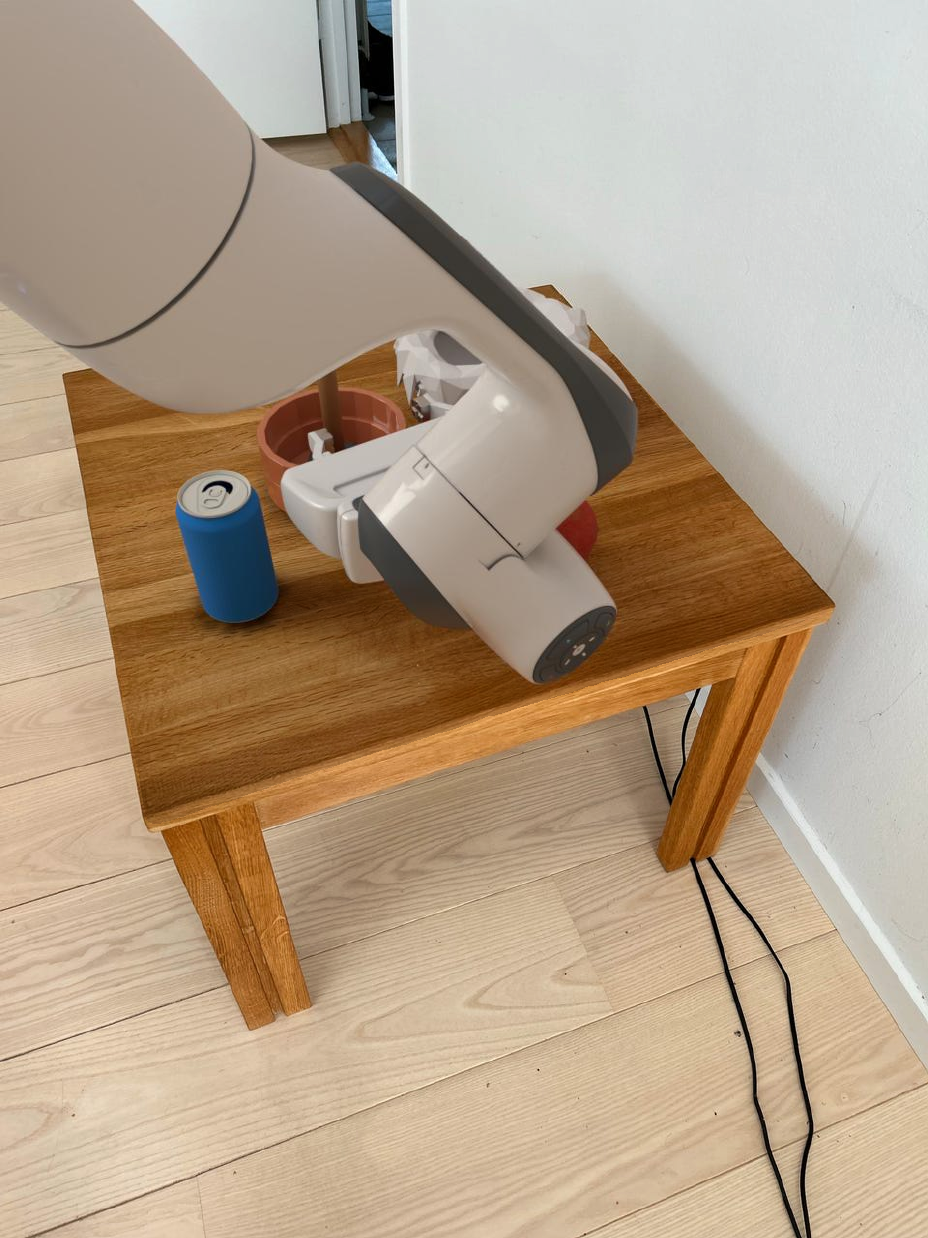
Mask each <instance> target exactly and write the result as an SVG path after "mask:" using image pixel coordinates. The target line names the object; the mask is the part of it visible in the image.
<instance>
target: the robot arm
mask: <svg viewBox="0 0 928 1238" xmlns="http://www.w3.org/2000/svg"><path fill="white" fill-rule="evenodd" d="M262 139H263V138H261V137H260V136H258V135H257V133H256V132H255V131H254V130H253V129H252V128H251V127H250V125H249V124H248V123H247V122H246V120H244V119H243V117H242V116H241V115H240V113H239V112H238V111H237V109H236V108H235V107H234V106H233V105H232V103H231V102H230V101H229V100H228V99H227V98H226V97H225V96H224V95H223V93H222V92H221V91H220V90H219V88H218V87H217V86H216V85H215V84H214V83H213V81H212V80H211V79H210V78H209V77H208V76H207V75H206V74H205V72H203V70H201V68H200V67H199V66H198V65H197V64H196V63H195V62H194V61H193V60H192V59H191V58H190V56H188V54H187V53H186V52H185V51H184V50H183V49H182V48H181V47H180V46H179V44H177V43H176V41H175V40H174V39H173V38H172V37H171V36H170V35H169V34H168V33H166V32H165V30H164V29H162V27H161V26H160V25H159V24H158V23H157V22H156V21H154V19H153V18H152V17H151V16H150V15H149V14H148V13H146V11H145V10H144V9H142V8H141V7H140V6H139V5H138V4H137V3H136V2H135V1H134V0H0V303H1V304H3V305H4V306H5V307H7V308H8V309H9V310H11V311H12V312H13V313H15V314H16V315H17V316H19V317H20V318H21V319H22V320H24V321H25V322H27V323H28V324H29V325H30V326H31V327H33V328H35V329H36V330H37V331H38V332H40V333H41V334H42V335H44V336H45V337H47V338H48V339H50V340H51V342H54V343H55V344H56V345H57V346H59V348H62V349H63V350H64V351H65V352H67V353H68V354H70V355H71V356H73V357H74V358H75V359H76V360H79V361H80V362H81V363H83V364H84V365H86V366H87V367H88V368H90V369H92V370H93V371H94V372H96V373H98V374H99V375H101V376H103V377H104V378H105V379H107V380H109V381H111V382H112V383H114V384H115V385H117V386H119V387H120V388H122V389H124V390H126V391H128V392H129V393H131V394H133V395H135V396H137V397H139V398H141V399H143V400H145V401H147V402H149V403H152V404H154V405H157V406H159V407H162V408H164V409H168V410H172V411H175V412H179V413H187V414H196V415H215V414H217V415H218V414H227V413H236V412H237V413H238V412H241V411H246V410H251V409H252V410H253V409H257V408H260V407H263V406H267V405H271V404H273V403H277V402H278V401H279V402H280V401H282V400H285V399H287V398H289V397H290V396H292V395H295V394H297V393H299V392H300V391H302V390H304V389H306V388H307V387H309V386H311V385H312V384H314V383H315V382H316V383H317V380H319V379H320V378H322V377H324V376H325V375H327V374H329V373H330V372H332V371H334V370H335V369H336V370H337V369H338V368H340V367H342V366H343V365H346V364H347V363H349V362H351V361H352V360H354V359H356V358H358V357H360V356H362V355H364V354H366V353H368V352H370V351H372V350H374V349H376V348H379V347H381V346H384V345H385V344H388V343H390V342H392V341H396V340H397V339H398V338H401V337H403V336H406V335H409V334H413V333H416V332H421V331H427V330H438V331H443V332H445V333H447V334H448V335H449V336H451V337H452V338H453V339H454V340H456V341H457V342H458V343H459V344H461V345H462V346H463V347H464V348H466V349H467V350H468V351H469V352H471V353H472V354H473V355H474V356H476V357H477V358H478V359H479V360H481V361H482V362H483V363H484V364H486V365H485V367H484V369H483V371H482V373H481V375H480V376H479V378H478V380H477V381H476V382H475V384H474V385H473V386H472V387H471V388H470V390H469V391H468V392H467V393H466V394H465V395H464V396H463V397H462V398H461V399H460V400H459V401H458V402H457V403H456V404H455V405H449V404H445V403H441V402H436V401H435V400H434V399H433V398H432V397H431V396H429V395H428V394H425V395H422V396H420V397H417V396H416V397H414V398H412V400H411V403H410V405H411V406H412V407H411V413H412V416H413V418H414V419H415V420H417V421H418V423H419V424H415V425H413V426H410V427H408V428H407V427H406V428H407V429H404V430H401V431H398V432H395V433H392V434H389V435H386V436H383V437H380V438H377V439H374V440H372V441H369V442H366V443H363V444H360V445H357V446H354V447H351V448H348V449H345V450H342V451H339V452H337V453H335V449H334V447H333V444H334V441H333V436H332V435H331V434H330V433H329V432H327V429H326V428H323V429H320V430H317V431H313V432H310V433H308V440H309V446H310V449H311V451H312V452H313V456H312V457H313V461H310V462H307V463H305V464H302V465H299V466H295V467H292V468H290V469H288V470H286V471H285V473H284V475H283V477H282V480H281V491H282V497H283V502H284V506H285V509H286V512H287V513H286V512H285V513H286V514H287V516H288V517H289V519H290V521H292V523H293V525H294V526H295V527H296V528H297V530H298V531H300V533H301V535H303V536H304V537H305V539H307V540H308V542H310V543H311V544H312V545H313V546H314V547H315V548H316V549H317V550H318V551H319V552H321V553H322V554H324V555H326V556H327V557H330V558H333V559H335V560H337V559H338V560H341V562H342V564H343V568H344V571H345V574H346V576H347V577H348V579H349V580H350V581H351V582H353V583H355V584H359V585H360V584H361V585H362V584H370V583H371V584H372V583H377V582H385V584H387V586H388V587H389V589H390V590H391V591H392V593H393V595H394V596H396V598H397V599H398V601H400V603H401V605H403V606H404V607H405V608H406V609H407V611H408V612H409V613H411V614H412V615H413V616H414V617H416V619H418V620H420V621H421V622H422V623H424V624H426V625H429V626H432V627H437V628H443V629H450V630H454V631H455V630H457V631H472V630H473V631H474V633H476V635H477V636H478V637H479V638H480V639H481V640H482V641H483V642H484V643H485V644H486V645H487V646H488V647H489V648H490V649H491V650H492V651H493V652H494V653H495V654H496V655H497V656H499V658H500V659H502V660H503V661H504V662H505V663H506V664H507V665H508V666H510V668H512V669H513V670H514V671H515V672H517V674H519V675H520V676H521V677H523V678H524V679H525V680H527V681H528V682H530V683H532V684H535V685H545V684H550V683H552V682H556V681H558V680H561V679H562V678H563V677H565V676H567V675H570V674H571V673H573V672H574V671H575V670H576V669H577V668H579V667H580V666H581V665H582V664H584V662H586V661H587V660H588V659H589V658H590V657H591V656H592V655H594V653H595V652H596V651H597V650H599V648H600V647H601V646H602V645H603V644H604V643H605V641H606V640H607V637H608V636H609V635H610V634H611V631H612V629H613V628H614V625H615V622H616V619H617V615H618V614H617V613H618V608H617V605H616V603H615V601H614V599H613V597H612V596H611V595H610V593H609V592H608V590H607V588H606V587H605V586H604V584H603V583H602V581H601V580H600V578H599V577H598V576H597V574H596V573H595V572H594V570H592V568H591V566H589V564H588V563H587V562H586V560H585V561H584V559H583V558H582V557H581V556H580V555H579V553H578V552H577V551H576V550H575V549H574V548H573V547H572V546H571V544H570V543H569V542H568V541H567V540H566V539H565V538H564V537H563V536H562V535H561V534H560V533H559V532H558V531H557V530H556V528H557V527H558V526H559V525H560V524H561V523H562V522H563V521H564V520H565V519H566V518H567V517H568V516H569V515H570V514H571V513H572V512H573V511H574V510H575V509H577V508H578V507H579V506H580V505H581V504H582V503H583V502H584V501H585V500H586V501H587V499H589V497H593V496H594V495H596V494H597V493H599V491H601V490H602V489H603V488H604V487H605V486H607V484H609V483H610V482H611V481H612V480H614V479H615V478H616V477H618V476H619V475H620V474H622V473H623V472H624V471H625V470H626V469H627V468H628V467H630V466H631V465H632V464H633V461H634V455H635V451H636V450H635V449H636V444H637V438H638V424H639V410H638V407H637V405H636V404H635V403H634V400H633V398H632V396H631V394H630V391H629V390H628V388H627V386H626V385H625V384H624V381H622V379H621V378H620V377H619V375H617V373H616V372H615V371H614V370H613V369H612V367H610V366H609V365H608V364H607V362H605V361H604V360H603V359H602V358H601V357H600V356H599V355H597V354H596V353H594V352H593V351H591V350H590V348H589V349H587V348H586V347H584V346H583V345H581V344H579V343H578V342H576V341H574V340H572V339H571V338H569V337H567V336H565V335H564V334H563V333H562V332H561V331H560V330H559V329H558V328H556V326H555V325H554V324H553V323H552V322H551V321H550V320H549V319H548V318H547V317H546V316H545V315H544V314H543V313H542V312H541V311H540V310H539V309H538V308H537V307H536V306H535V305H534V304H533V303H532V302H531V301H530V300H528V299H527V297H526V296H524V295H523V293H521V292H520V291H519V290H518V289H517V288H516V287H517V286H516V285H514V284H513V283H512V281H510V280H509V279H508V278H507V277H506V276H505V275H504V274H503V273H502V272H501V271H500V270H499V269H498V268H497V267H496V266H495V265H494V264H493V263H492V262H491V261H490V260H489V259H488V258H487V257H485V255H484V254H483V253H481V251H479V249H478V248H476V246H474V244H472V243H471V242H470V241H469V240H468V238H465V237H464V236H463V235H461V234H459V232H458V231H456V230H455V229H454V227H452V226H451V225H450V224H449V223H447V221H445V219H443V218H442V217H441V216H440V215H439V214H438V213H437V212H435V211H434V210H433V209H432V208H431V207H430V206H428V204H426V203H425V202H423V200H421V198H419V197H418V196H416V195H415V194H414V193H413V192H411V191H410V190H409V189H408V188H406V187H405V186H404V185H402V184H401V183H399V182H398V181H397V180H395V179H393V178H392V177H390V176H389V175H388V174H386V173H384V172H382V171H380V170H378V169H376V168H375V167H372V166H370V165H367V164H365V163H364V162H361V161H353V162H349V163H345V164H340V165H337V166H333V167H330V168H329V170H327V169H321V168H316V167H313V166H309V165H305V164H302V163H299V162H297V161H295V160H293V159H291V158H288V157H286V156H285V155H283V154H281V153H279V152H278V151H276V150H275V149H274V148H272V147H271V146H270V145H269V144H268V143H266V142H265V141H264V140H262Z"/></svg>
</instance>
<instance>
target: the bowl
mask: <svg viewBox="0 0 928 1238" xmlns="http://www.w3.org/2000/svg"><path fill="white" fill-rule="evenodd" d="M515 287H516V288H517V289H518V290H519V291H520V292H521V293H523V295H524V296H526V297H527V299H528V300H530V301H531V302H532V303H533V304H534V305H535V306H536V307H537V308H538V309H539V310H540V311H541V312H542V313H543V314H544V315H545V316H546V317H547V318H548V319H549V320H550V321H551V322H552V323H553V324H554V325H555V326H556V328H558V329H559V330H560V331H561V332H562V333H563V334H564V335H565V336H567V337H569V338H571V339H572V340H574V341H576V342H578V343H579V344H581V345H583V346H584V347H586V348H587V349H589V350H590V346H591V345H590V341H591V337H592V336H591V332H590V330H589V327H588V322H587V316H586V315H587V314H586V311H585V310H584V309H583V308H581V307H570V305H569V306H568V305H566V304H565V303H563V302H561V301H560V300H557V299H555V298H552V297H550V298H549V297H546V296H545V295H544V294H542V293H539V292H537V291H535V290H533V289H530V288H525V287H519V286H515ZM393 349H394V353H395V355H396V375H397V376H396V377H397V378H396V380H397V382H396V383H397V388H399V387H400V386H401V385H402V384H403V386H404V390H405V393H406V398H407V403H408V407H409V408H410V406H411V400H412V399H413V396H414V394H415V392H416V393H417V394H416V398H417V397H420V396H422V395H425V394H428V395H429V396H431V397H432V398H433V399H434V400H435V401H436V402H441V403H445V404H449V405H455V404H456V403H457V402H458V401H459V400H460V399H461V398H462V397H463V396H464V395H465V394H466V393H467V392H468V391H469V390H470V388H471V387H472V386H473V385H474V384H475V382H476V381H477V380H478V378H479V376H480V375H481V373H482V371H483V369H484V367H485V365H486V364H484V363H483V362H482V361H481V360H479V359H478V358H477V357H476V356H474V355H473V354H472V353H471V352H469V351H468V350H467V349H466V348H464V347H463V346H462V345H461V344H459V343H458V342H457V341H456V340H454V339H453V338H452V337H451V336H449V335H448V334H447V333H445V332H443V331H438V330H427V331H421V332H416V333H413V334H409V335H406V336H403V337H401V338H398V339H395V341H394V344H393Z"/></svg>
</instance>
